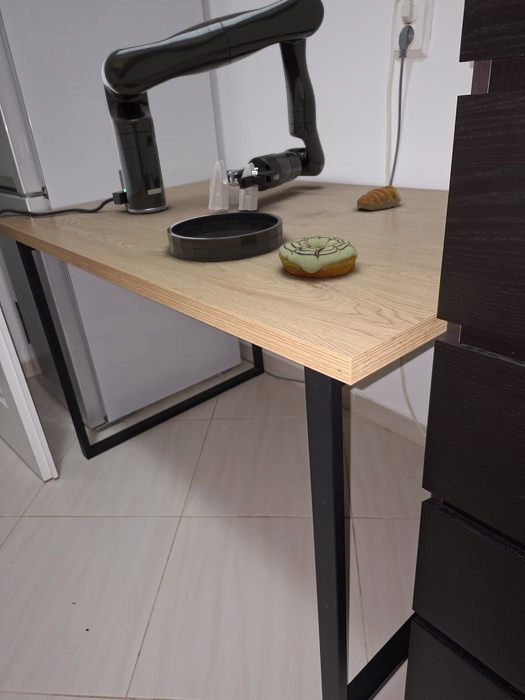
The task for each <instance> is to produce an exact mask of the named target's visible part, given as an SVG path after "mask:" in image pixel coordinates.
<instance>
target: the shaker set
mask: <svg viewBox="0 0 525 700" xmlns="http://www.w3.org/2000/svg"><path fill="white" fill-rule="evenodd" d="M244 167H245V169H244V172H243V175H242V177H246V176H252V171H255V168H254V164H253V163H250V164H248V163H247V164H245V166H244ZM226 171H227V169H226V165H225V162H224V160H222V159H220V160H216V162H215V163H214V166H213V169H212V173H211V176H210V179H211V180H210V181H209V195H208V196H209V197H208V198H209V202H208V207H207V208H208V210H209V211H210V212H211V214H218V213H228V210H229V208H230V204H229V192H230V191H229V188H230V187H229V186H230V185H229V184H228V177H227V173H226ZM238 189H239V190H238V208H237V209H238V211H249V212H252V211H256V210H258V201H259V200H258V198H259V197H258V196H259V195H258V194H259V191H258V186H257V187H249V188H246V189H240V187H239V188H238Z"/></svg>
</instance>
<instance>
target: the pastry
mask: <svg viewBox="0 0 525 700" xmlns="http://www.w3.org/2000/svg"><path fill="white" fill-rule="evenodd" d="M401 201H402V197H401V196H400V193H399V192H398V190H397V188H396V187H395V186H393V185H386V186H381V187H379V188H378V187H377V188H373V189H370V190H368V191H367V192H366V193H365V194H363V195H361V196H360V197H359V198H358V199H357V201H356V208H357V209H365V210H369V211H371V212H372V211H377V210H383V209H390V208H392V207H393V208H395V207H398V206H399V204H400V203H401Z"/></svg>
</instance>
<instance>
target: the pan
mask: <svg viewBox="0 0 525 700" xmlns="http://www.w3.org/2000/svg"><path fill="white" fill-rule="evenodd" d="M283 223H284V222H283V218H282V217H281V216H279V215H276V214H274V213H268V212H264V211H263V212H261V211H230V212H228V211H227V212H225V213H218V214H213V213H211V214H210V213H209V214H205V215H198V216H194V217H189V218H186V219H183V220H181V221H178V222H176V223H173V224H171V225H170V226H169V227H168V228H167V229H166V233H167V234H166V235H167V240H168V246H169V252H170V254H171V255H172V256H173V257H175V258H178V259H181V260H186V261H194V262H227V261H234V260H235V261H236V260H242V259H248V258H253V257H256V256H261V255H263V254H267V253H270V252H272V251H274V250H276V249H278V248H280V247H281V246H282V245H283V244H284V225H283Z"/></svg>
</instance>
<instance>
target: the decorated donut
mask: <svg viewBox="0 0 525 700" xmlns="http://www.w3.org/2000/svg"><path fill="white" fill-rule="evenodd" d="M278 257H279V260H280V262H281V264H282V267H283V268H284V269H285V270H286V271H287V272H289V273H290V274H293V275H295V276H301V277H307V276H308V277H310V278H315V277H316V278H318V279H321V278H322V279H323V278H325V277H336V276H338V275H345V274H347V273H348V272H349V271H350V270H352V269H353V267H355V266H356V264H355V263H356V261H357V258H358V257H359V254H358V250H357V248H356V246H355V245H354V244H353V243H352V242H351V241H348V240H346V239H343V238H340V237H335V236H328V235H313V236H312V235H311V236H310V235H308V236H302V237H300V238H299V237H298V238H296V239H293V240H290V241H288V242H285V243H282V244H281V246H279V249H278Z"/></svg>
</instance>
